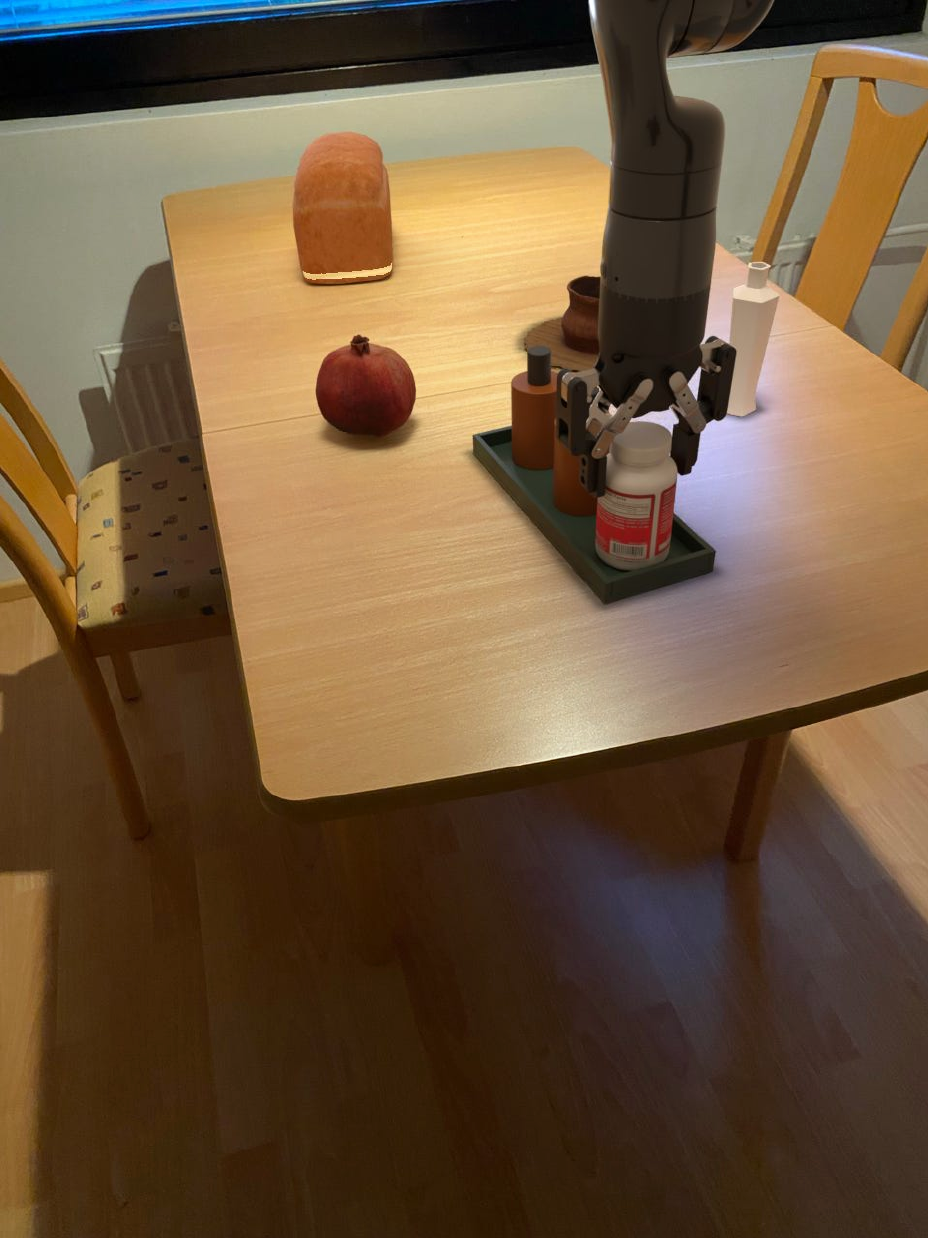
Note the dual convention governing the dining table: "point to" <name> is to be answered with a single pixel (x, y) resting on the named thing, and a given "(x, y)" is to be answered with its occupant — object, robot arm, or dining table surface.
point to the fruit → (365, 389)
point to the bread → (342, 208)
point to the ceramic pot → (573, 328)
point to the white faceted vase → (750, 336)
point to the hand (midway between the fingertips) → (637, 481)
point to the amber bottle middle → (571, 479)
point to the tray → (587, 528)
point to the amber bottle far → (534, 411)
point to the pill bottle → (637, 498)
